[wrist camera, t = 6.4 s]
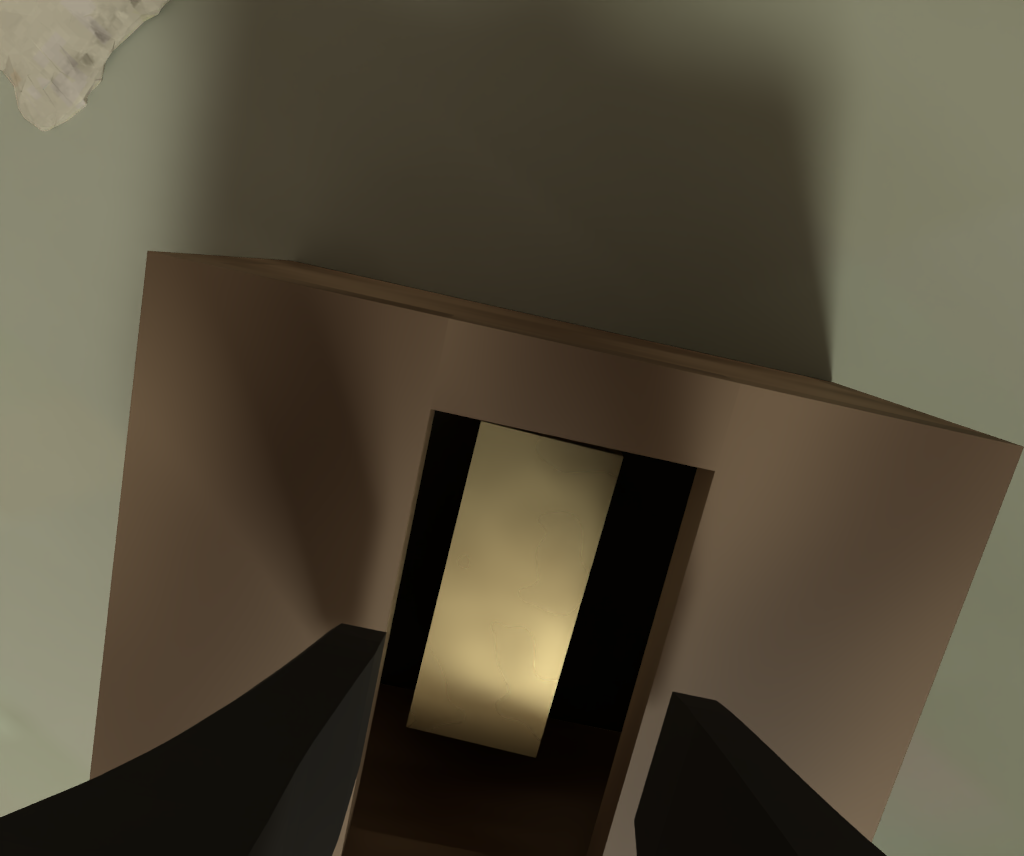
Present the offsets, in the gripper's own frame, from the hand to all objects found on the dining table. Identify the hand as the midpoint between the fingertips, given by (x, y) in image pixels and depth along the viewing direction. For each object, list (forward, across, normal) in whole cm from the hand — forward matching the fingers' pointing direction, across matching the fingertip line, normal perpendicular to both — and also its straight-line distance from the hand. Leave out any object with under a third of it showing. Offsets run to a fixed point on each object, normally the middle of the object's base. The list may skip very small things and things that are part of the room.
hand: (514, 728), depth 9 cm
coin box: (+7, 0, 0) cm, 7 cm away
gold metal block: (+7, 0, 0) cm, 7 cm away
